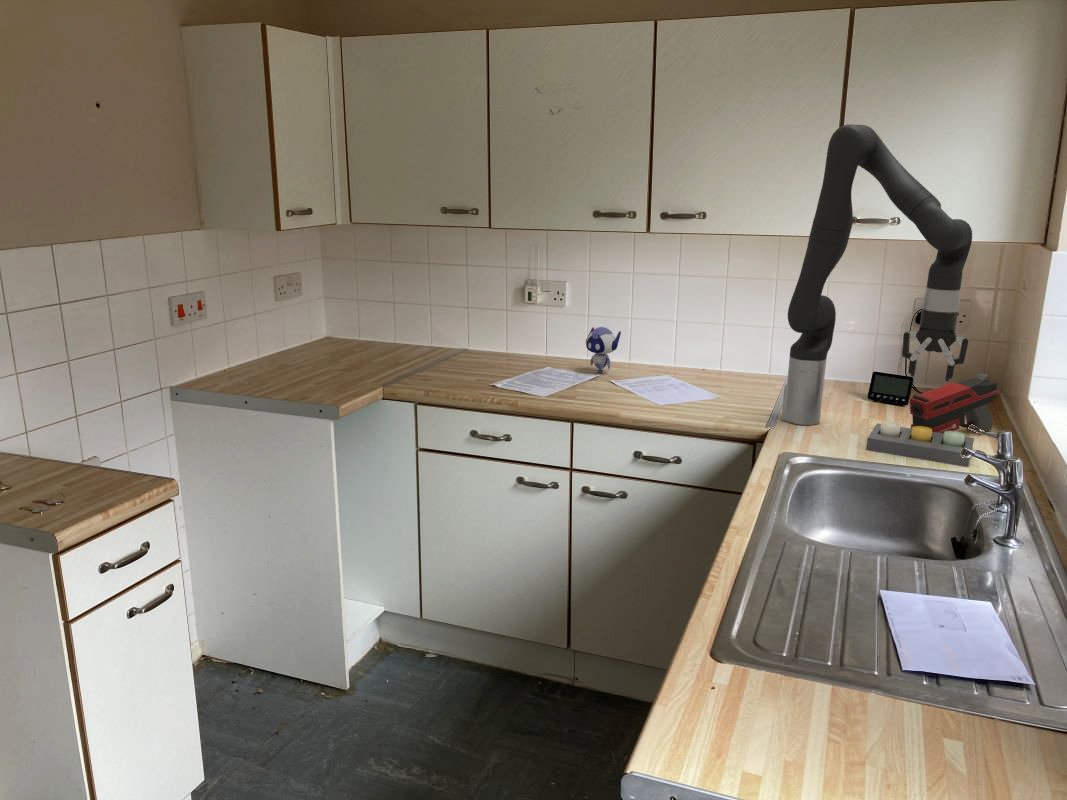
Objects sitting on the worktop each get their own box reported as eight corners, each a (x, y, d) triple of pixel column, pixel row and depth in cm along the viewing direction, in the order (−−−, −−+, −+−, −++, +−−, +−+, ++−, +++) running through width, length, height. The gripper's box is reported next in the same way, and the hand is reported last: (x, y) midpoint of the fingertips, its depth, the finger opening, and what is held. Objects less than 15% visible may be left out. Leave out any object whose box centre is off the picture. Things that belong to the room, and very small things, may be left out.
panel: (865, 449, 203) (867, 437, 202) (875, 434, 215) (877, 423, 214) (967, 466, 193) (969, 454, 192) (972, 449, 204) (974, 438, 204)
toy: (577, 373, 272) (579, 327, 268) (594, 367, 280) (595, 323, 276) (606, 378, 267) (608, 331, 262) (622, 372, 274) (624, 327, 270)
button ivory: (878, 438, 206) (879, 424, 205) (881, 433, 210) (882, 420, 209) (897, 441, 204) (899, 427, 203) (900, 436, 207) (902, 423, 207)
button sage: (941, 448, 199) (943, 434, 198) (943, 443, 203) (945, 429, 202) (962, 452, 197) (964, 437, 196) (963, 446, 201) (965, 432, 200)
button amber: (909, 443, 203) (911, 429, 202) (911, 438, 206) (913, 424, 205) (929, 446, 200) (931, 432, 199) (931, 441, 204) (933, 427, 203)
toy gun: (999, 428, 218) (998, 374, 213) (926, 457, 212) (924, 401, 207) (982, 422, 223) (981, 369, 218) (910, 450, 217) (907, 396, 212)
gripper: (904, 307, 195) (894, 377, 199) (974, 313, 188) (962, 386, 193) (908, 303, 201) (899, 371, 206) (976, 309, 194) (964, 379, 199)
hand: (929, 378), depth 199 cm, fingers open, 7 cm apart
